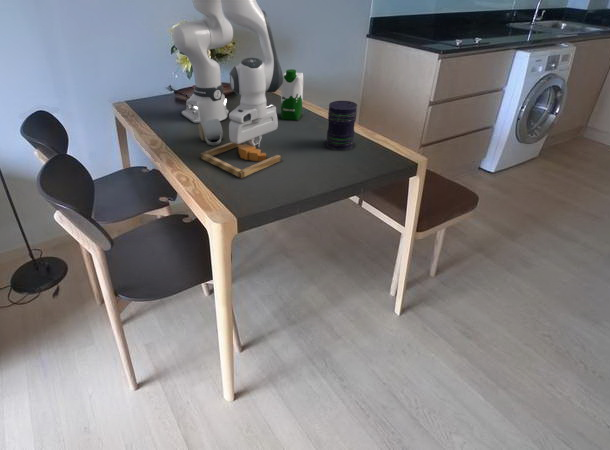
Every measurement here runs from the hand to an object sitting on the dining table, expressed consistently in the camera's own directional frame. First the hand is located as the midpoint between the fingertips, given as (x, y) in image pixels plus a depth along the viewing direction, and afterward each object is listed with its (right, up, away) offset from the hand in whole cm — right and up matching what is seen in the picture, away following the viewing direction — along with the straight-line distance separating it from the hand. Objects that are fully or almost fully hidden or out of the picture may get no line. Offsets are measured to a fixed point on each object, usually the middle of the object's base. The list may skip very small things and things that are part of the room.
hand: (255, 148), depth 148 cm
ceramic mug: (-16, +5, +13) cm, 22 cm away
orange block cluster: (-3, -3, -1) cm, 4 cm away
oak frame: (-5, -5, -2) cm, 7 cm away
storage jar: (+31, +2, +6) cm, 32 cm away
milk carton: (+16, +19, +32) cm, 41 cm away
